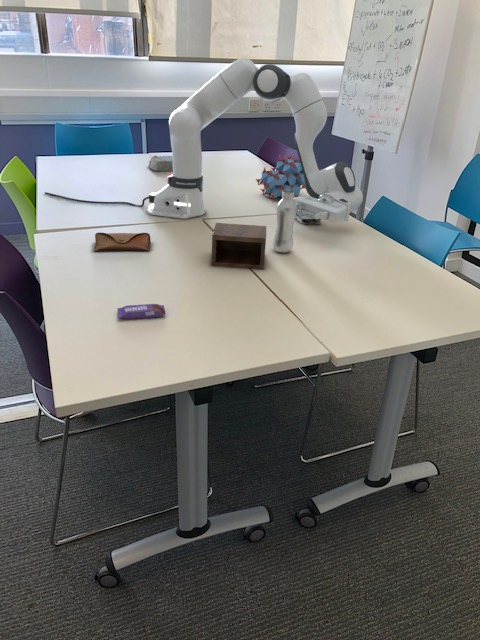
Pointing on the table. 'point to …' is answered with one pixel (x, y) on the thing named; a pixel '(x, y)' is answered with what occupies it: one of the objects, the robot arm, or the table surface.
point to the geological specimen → (161, 163)
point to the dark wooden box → (238, 245)
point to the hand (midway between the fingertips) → (303, 212)
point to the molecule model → (283, 178)
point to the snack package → (141, 311)
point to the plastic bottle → (285, 222)
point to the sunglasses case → (122, 242)
